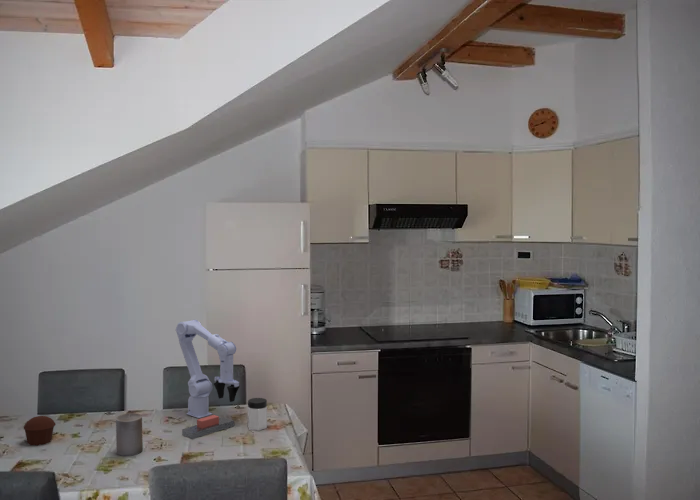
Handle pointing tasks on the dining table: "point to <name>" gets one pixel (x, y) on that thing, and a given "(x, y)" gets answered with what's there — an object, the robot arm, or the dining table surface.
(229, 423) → the rail
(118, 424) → the pillar candle
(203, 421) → the clip
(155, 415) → the dining table surface
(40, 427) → the muffin
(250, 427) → the jar
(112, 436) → the dining table surface
